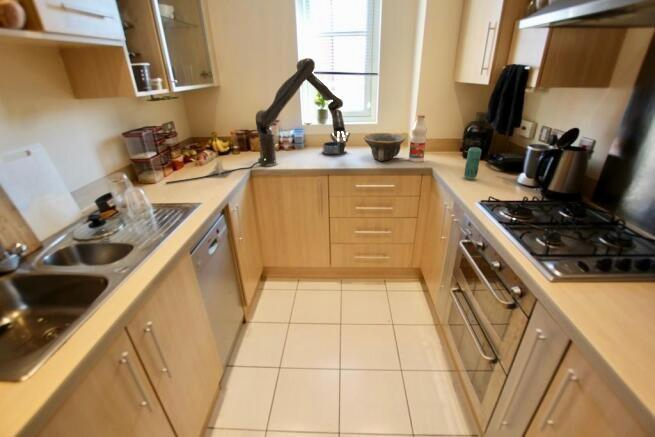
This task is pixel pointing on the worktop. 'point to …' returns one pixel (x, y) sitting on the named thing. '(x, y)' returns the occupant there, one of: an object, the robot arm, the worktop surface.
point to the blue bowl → (331, 148)
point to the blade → (341, 146)
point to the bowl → (384, 145)
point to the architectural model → (219, 170)
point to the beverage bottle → (473, 160)
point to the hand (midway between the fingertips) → (342, 146)
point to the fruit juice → (418, 140)
